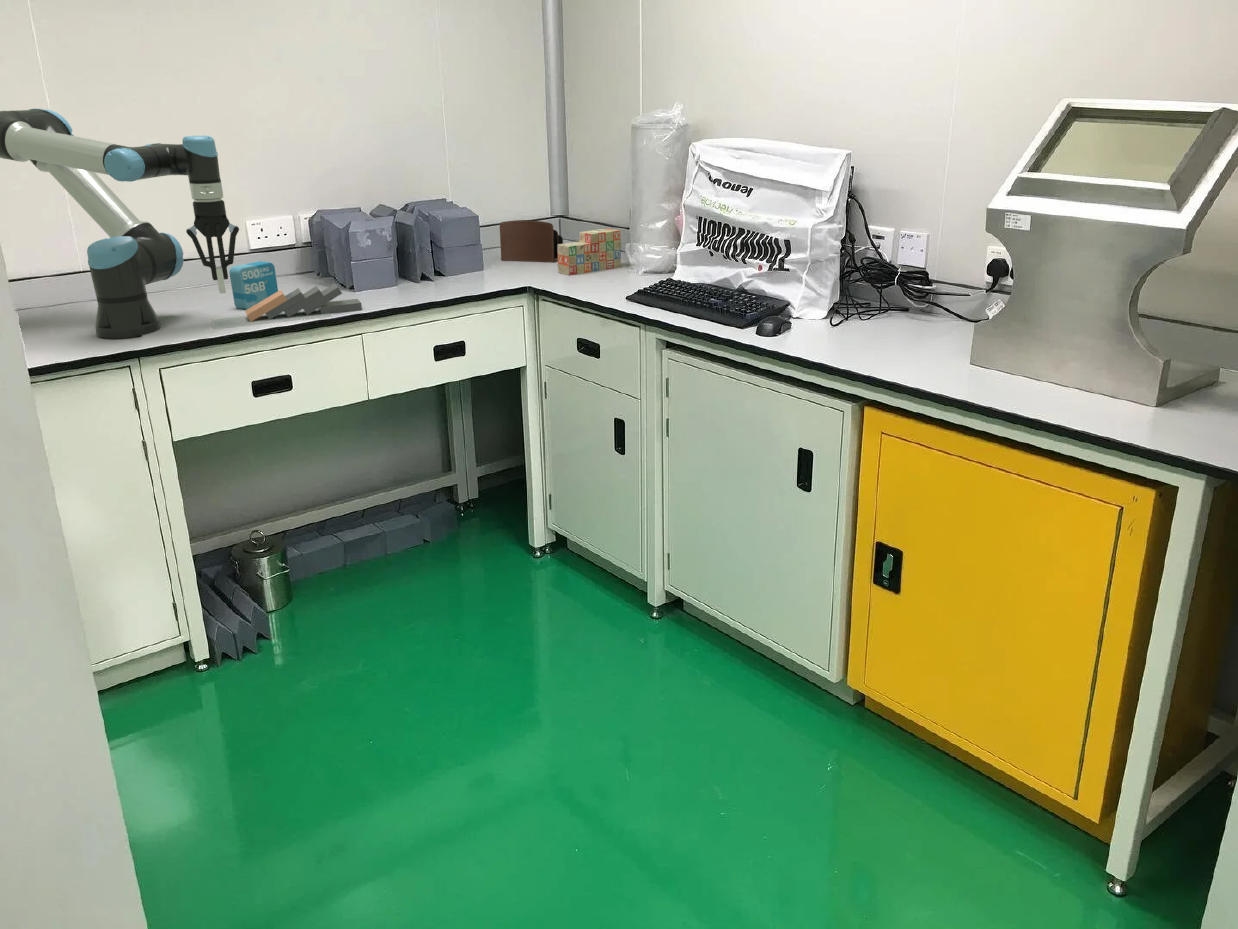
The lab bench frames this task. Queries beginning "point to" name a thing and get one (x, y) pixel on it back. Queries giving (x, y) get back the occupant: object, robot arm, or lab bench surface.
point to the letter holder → (529, 241)
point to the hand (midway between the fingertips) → (222, 291)
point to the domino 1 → (265, 305)
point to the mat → (264, 319)
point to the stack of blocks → (590, 252)
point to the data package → (252, 283)
